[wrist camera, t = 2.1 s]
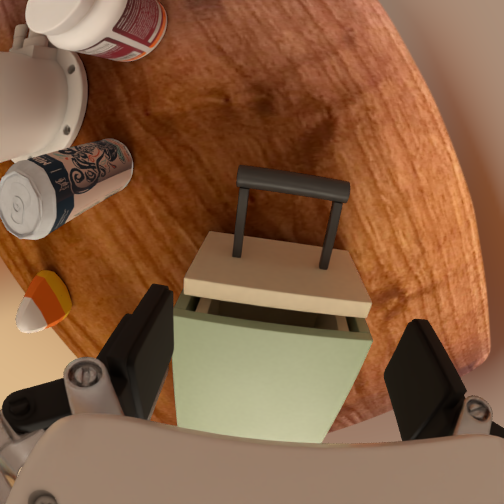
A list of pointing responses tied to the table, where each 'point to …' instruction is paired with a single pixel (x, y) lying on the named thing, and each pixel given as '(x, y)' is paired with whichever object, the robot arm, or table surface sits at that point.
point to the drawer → (279, 264)
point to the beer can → (61, 186)
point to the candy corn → (43, 303)
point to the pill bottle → (100, 26)
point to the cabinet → (262, 374)
